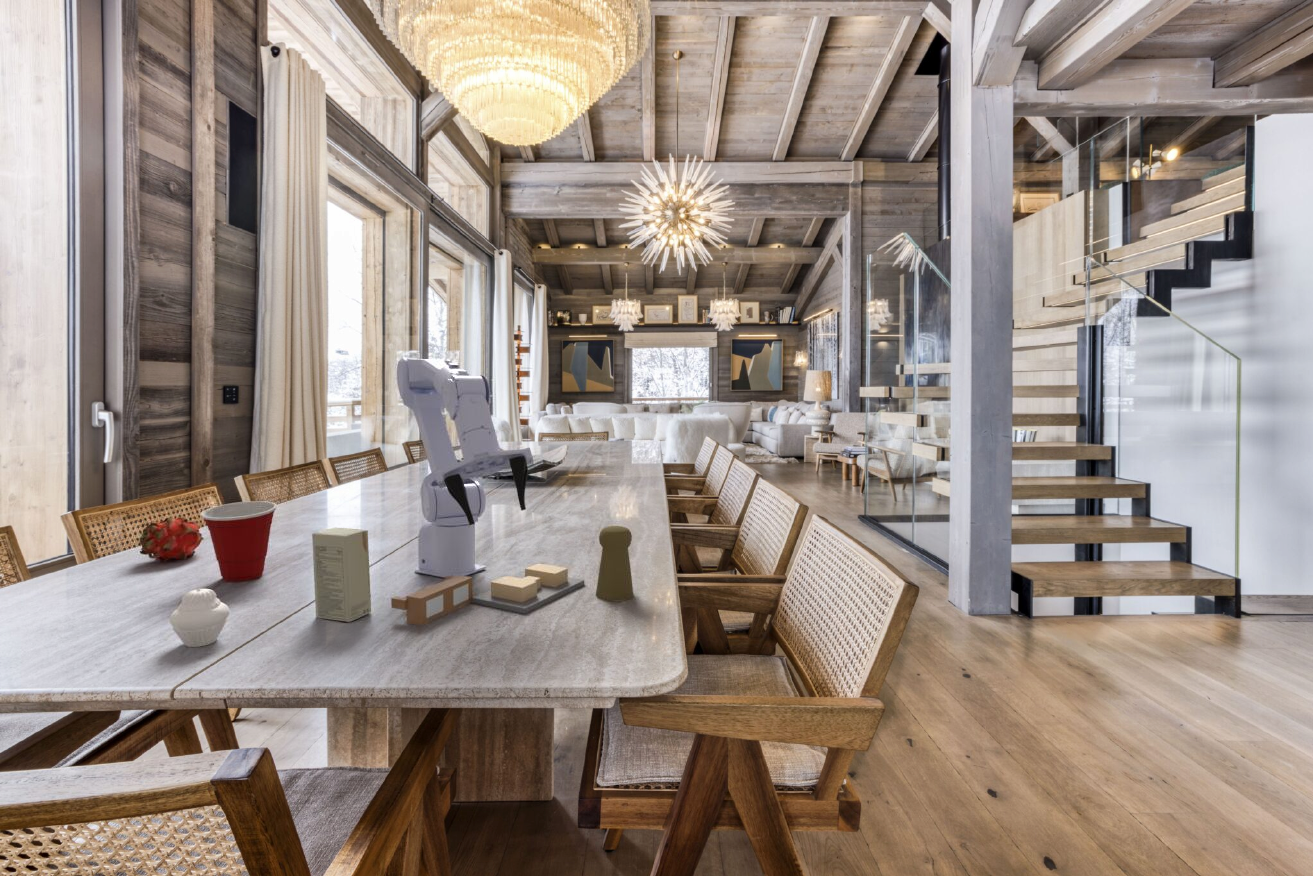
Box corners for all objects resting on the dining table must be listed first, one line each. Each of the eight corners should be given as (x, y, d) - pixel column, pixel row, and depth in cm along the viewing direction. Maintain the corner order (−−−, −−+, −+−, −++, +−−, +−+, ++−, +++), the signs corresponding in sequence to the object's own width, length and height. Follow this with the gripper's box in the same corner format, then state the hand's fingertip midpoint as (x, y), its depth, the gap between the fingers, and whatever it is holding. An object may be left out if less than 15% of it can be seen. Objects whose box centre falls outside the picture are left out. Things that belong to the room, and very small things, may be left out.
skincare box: (372, 613, 93) (371, 529, 92) (349, 623, 89) (347, 536, 88) (337, 607, 95) (335, 525, 94) (312, 617, 91) (310, 531, 90)
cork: (628, 602, 100) (629, 532, 99) (590, 599, 101) (591, 529, 100) (637, 590, 106) (638, 524, 105) (601, 587, 107) (602, 522, 106)
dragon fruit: (137, 577, 113) (193, 568, 125) (175, 550, 112) (228, 544, 124) (115, 536, 114) (173, 531, 126) (152, 509, 113) (207, 507, 125)
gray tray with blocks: (471, 602, 98) (471, 583, 98) (535, 576, 113) (535, 559, 113) (524, 613, 94) (524, 593, 94) (584, 584, 108) (584, 567, 108)
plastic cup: (185, 585, 104) (182, 511, 103) (237, 566, 115) (235, 499, 114) (247, 589, 103) (244, 514, 102) (293, 570, 114) (291, 502, 113)
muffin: (164, 655, 78) (161, 598, 77) (178, 637, 83) (176, 583, 83) (225, 647, 80) (223, 592, 80) (234, 630, 86) (233, 578, 85)
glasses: (391, 622, 90) (391, 594, 90) (448, 597, 101) (448, 572, 101) (419, 628, 88) (419, 599, 88) (474, 602, 99) (474, 576, 99)
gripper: (425, 437, 97) (441, 517, 90) (520, 413, 100) (543, 489, 94) (435, 460, 103) (451, 536, 96) (525, 437, 106) (546, 509, 100)
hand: (497, 514), depth 96 cm, fingers open, 7 cm apart
